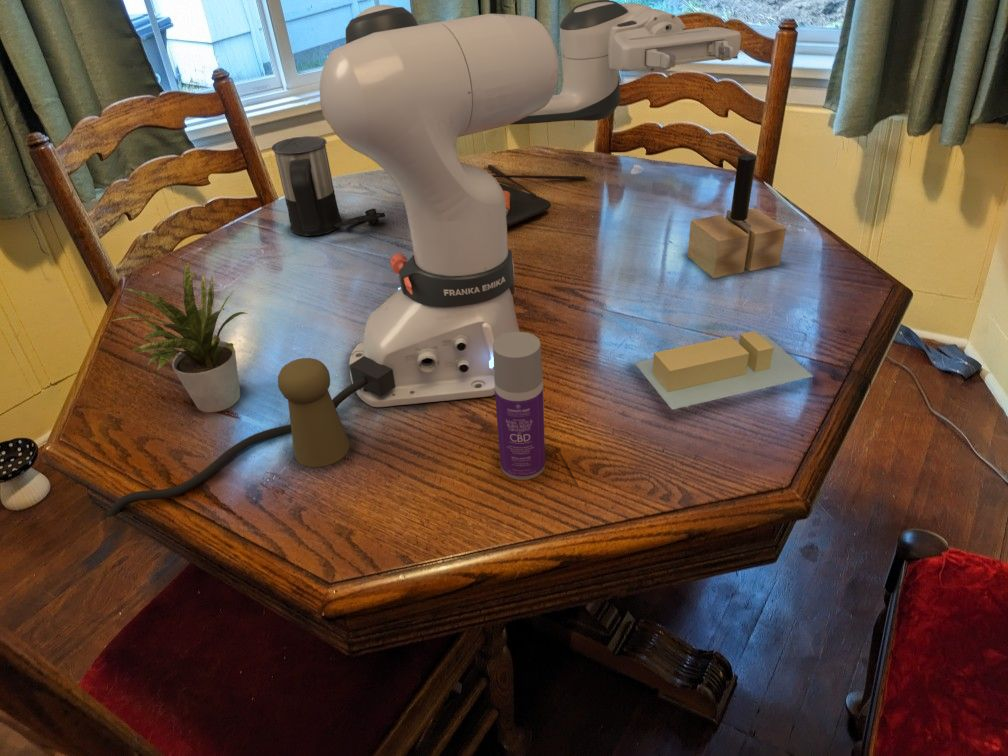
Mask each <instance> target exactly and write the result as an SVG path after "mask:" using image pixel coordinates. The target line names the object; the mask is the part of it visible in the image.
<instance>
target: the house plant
mask: <svg viewBox="0 0 1008 756" xmlns="http://www.w3.org/2000/svg"><path fill="white" fill-rule="evenodd" d="M182 274H183V275H182V281H183V283H182V284H183V305H184V311H185V313H184V311H182V310H181V309H180V308H178V306H176V305H174V304H172V303H170V302H168V301H166V300H164V299H163V297H162V296H159V295H157V294H155V293H152V292H144V291H142V290H138V289H134V288H124V290H126V291H129V292H132V293H135V294H138V295H140V296H141V297H142V298H144V299H146V300H147V301H148V302H150V303H151V304H152V305H153V306H154V307H155V308H156V309H157V310H158V311H159V312H160V313H161V314H163V315H164V316H166V317H167V319H168V320H169V321H171V323H168V322H166V321H164V320H162V319H159V318H157V317H153V316H150V315H146V314H139V313H138V314H130V315H125V316H120V317H118V318H114V319H112V320H111V322H114V321H120V320H125V319H133V320H130V321H127V322H126V324H129V323H132V322H140V323H143V324H145V325H148V326H149V327H151V328H152V329H153V330H155V331H152V332H150V333H148V334H147V335H146V336H145V337H144V339H143V341H147V340H150V339H154V338H159V337H160V338H164V339H163V340H157V341H151V342H147V343H144V344H142V345H140V346H138V347H135V348H132V349H131V350H130V352H137V353H136V354H137V355H138V354H142V353H146V352H153V353H152V354H151V356H149V359H148V362H147V367H148V366H149V364H151V363H152V362H154V361H156V360H158V361H157V372H159V371H160V369H162V368H163V367H164V366H165V365H166V364H168V363H169V362H170V361H171V360H172V359H173V360H172V363H171V366H172V369H173V371H174V373H175V374H176V376H177V377H178V379H179V381H180V382H181V384H182V385H183V387H184V389H185V390H186V392H187V393H188V395H189V397H190V398H191V400H192V401H193V403H194V405H195V406H196V408H197V409H198V410H199V411H201V412H204V413H217V412H222V411H225V410H227V409H229V408H231V407H233V406H234V405H236V404H237V403H238V402H239V401H240V399H241V387H240V380H239V371H238V364H237V363H238V361H237V355H236V349H235V347H234V343H233V342H226V341H223V340H221V338H220V335H221V332H222V330H223V329H224V328H225V326H226V325H227V324H228V323H229V322H230V321H232V320H233V319H235V318H237V317H239V316H240V315H248V314H249V315H250V313H248V312H245V311H238V312H235V313H233V314H232V315H230V316H229V317H228V318H226V320H225V321H223V323H222V324H221V326H220V328H219V329H218V331H217V333H216V334H214V333H215V329H216V325H217V321H218V318H219V315H220V313H221V312H222V311H225V310H226V309H225V308H224V306H225V305H226V304H227V303H226V302H227V301H228V299H229V298H230V296H231V295H232V294H233V293H234V291H232V292H231V293H230V294H228V296H227V297H226V298H225V300H224V302H223V304H222V305H221V307H220V309H218V310H217V311H215V312H214V313H213V305H214V299H215V294H214V293H215V290H214V289H215V288H214V279H213V277H211V278H210V283H209V288H208V292H207V282H206V278H205V275H204V273H203V272H202V275H201V283H200V292H201V293H200V295H201V296H200V297H201V298H200V309H198V306H197V303H196V299H195V291H194V281H193V280H194V277H195V276H196V274H197V271H195V272H193V274H192V272H191V269H190V264H189V261H186V263H185V265H184V268H183V273H182ZM250 316H251V315H250ZM134 318H145V319H151V320H155V321H157V322H160V323H158V324H157V323H154V322H152V321H149V320H144V319H134ZM162 326H164V327H166V328H168V329H170V330H172V331H174V332H176V333H177V334H178V335H180V336H181V337H179V336H177V335H175V334H174V333H171V332H170V331H168V330H166V329H165V328H164V327H162ZM180 349H182V350H180Z"/></svg>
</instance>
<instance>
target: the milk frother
mask: <svg viewBox="0 0 1008 756" xmlns="http://www.w3.org/2000/svg"><path fill="white" fill-rule="evenodd" d="M327 143H328V142H327V140H326V138H324V137H321V136H315V135H306V136H297V137H290V138H286V139H282V140H280V141H278V142H276V143H274V144H273V145H271V148H270V149H271V151H272V152H273V153H274V157H275V162H276V165H277V170H278V175H279V178H280V184H281V187H282V193H283V195H284V201H285V204H286V208H287V212H288V220H289V223H290V227H289V230H290V232H291V233H293V234H295V235H298V236H303V237H304V236H305V237H307V236H308V237H311V236H320V235H321V236H322V235H324V234H328V233H331V232H333V231H336V230H337V229H339V228H340V227H344V226H350V225H356V224H361V223H365V222H367V223H368V225H375V224H378V223H379V222H380V220H379V219H382V218H385V217H386V212H385V211H384V212H377V209H376V208H370V209H367V210H365V214H362V215H359V216H355V217H351V218H349V219H347V220H343V218H342V217H341V215H340V211H339V207H338V202H337V198H336V194H335V189H334V183H333V178H332V172H331V167H330V162H329V156H328V152H327V147H326V145H327Z"/></svg>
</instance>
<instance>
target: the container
mask: <svg viewBox="0 0 1008 756" xmlns="http://www.w3.org/2000/svg"><path fill="white" fill-rule="evenodd" d="M541 343H542V342H541V340H540V339H539V337H537V336H536V335H535V334H532V333H530V332H526V331H520V332H510V333H506V334H503V335H501V336H499V337H498V338H497V339H496V340H495V341H494V343H493V360H494V382H495V395H494V397H495V410H496V421H497V422H496V424H497V435H498V447H499V449H498V450H499V461H500V469H501V471H502V473H503V474H504V475H505V476H506V477H509V478H510V479H513V480H515V481H528V480H531V479H535V478H537V477H538V476H540V475H541V474H542V473H543V472H544V470H545V468H546V438H545V433H546V432H545V403H544V402H545V401H544V400H545V399H544V379H543V378H544V377H543V361H542V347H541Z"/></svg>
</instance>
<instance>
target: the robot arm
mask: <svg viewBox="0 0 1008 756" xmlns="http://www.w3.org/2000/svg"><path fill="white" fill-rule="evenodd" d="M559 40H560V55H561V66H562V67H561V69H562V88H561V91H560V93H558V94H555V92H556V88H557V85H558V81H559V72H560V71H559V69H560V66H559V57H558V51H557V48H556V46H555V43H554V40H553V38H552V36H551V35H550V33H549V32H548V30H547V29H546V28H545V26H544V25H543V24H542V23H541V22H540V21H539V20H538V19H536V18H534V17H532V16H526V15H520V14H508V13H507V14H506V13H505V14H504V13H485V14H478V15H472V16H466V17H460V18H454V19H448V20H442V21H437V22H431V23H424V24H419V23H418V22H417V20H416V18H415V16H414V14H413V13H411V12H410V11H409V10H408V9H406V8H405V7H404V6H395V5H390V4H379V5H377V4H376V5H373V6H371V7H368V8H366V9H364V10H362V11H361V12H360V13H359V14H358V15H356V16H355V17H354V18H352V19H350V21H349V22H348V24H347V26H346V27H345V44H343V45H341V46H339V47H337V48H334V49H332V50H331V51H330V52H329V54H328V56H327V57H326V59H325V61H324V63H323V67H322V70H321V74H320V80H319V103H320V109H321V113H322V115H323V118H324V120H325V121H326V122H327V124H328V126H330V128H331V130H332V131H333V132H334V134H335V135H336V136H337V137H338V138H339V140H341V142H343V143H344V144H345V145H346V146H347V147H349V148H350V149H352V150H353V151H356V152H357V153H359V154H362V155H364V156H365V157H367V158H369V159H370V160H371V161H373V162H374V163H375V164H377V165H378V166H379V167H381V169H383V170H384V172H385V173H386V174H387V175H388V176H389V177H390V179H391V180H392V182H393V184H394V185H395V187H396V188H397V190H398V192H399V194H400V196H401V199H402V202H403V205H404V210H405V213H406V218H407V223H408V228H409V233H410V238H411V239H410V240H411V244H412V251H413V255H412V256H411V257H410V258H409V259H407V257H406V256H404V254H402V253H395V254H393V255H392V256H391V258H390V259H389V261H390V262H389V264H390V266H391V268H392V271H393V272H394V273H395V274H396V275H398V277H399V278H398V279H399V286H400V287H397V291H396V292H394V294H392V295H391V296H390V297H389V298H387V300H385V302H382V304H380V306H378V307H377V308H376V309H375V310H373V311H372V312H371V313H370V314H369V316H368V317H367V320H366V323H365V328H364V333H363V341H362V342H360V343H358V344H357V345H356V346H355V347H354V349H353V350H352V352H351V354H350V357H349V365H348V366H349V375H350V382H351V384H350V385H348V386H346V387H345V388H344V389H343V390H342V391H340V392H339V393H338V394H336V395H335V396H334V398H332V401H333V403H334V406H335V408H336V409H338V407H339V406H340V404H342V403H343V402H344V401H345V400H346V399H347V398H348V397H350V396H352V395H353V394H354V393H356V395H357V396H358V397H359V399H360V400H361V401H362V402H364V403H365V404H367V405H368V406H370V407H372V408H385V407H395V406H405V405H413V404H414V405H416V404H425V403H437V402H445V401H447V402H448V401H457V400H464V399H465V400H466V399H476V398H485V397H493V396H495V382H494V360H493V343H494V341H495V340H496V339H497V338H498V337H499V336H501V335H503V334H506V333H510V332H521V330H520V326H519V322H518V317H517V313H516V308H515V303H514V294H515V284H516V281H515V280H516V278H515V263H514V258H513V252H512V250H511V249H510V247H509V238H508V226H507V219H506V201H505V194H504V192H503V190H502V188H501V186H500V184H501V183H500V182H498V180H497V178H496V177H493V176H492V175H493V174H491V173H489V172H488V171H486V170H484V169H483V168H480V167H478V166H474V165H472V164H469V163H465V162H462V161H460V158H459V153H458V150H457V140H458V138H462V137H465V136H470V135H473V134H477V133H482V132H487V131H491V130H494V129H498V128H503V127H506V126H511V125H512V126H513V125H514V126H515V125H530V124H531V125H532V124H543V123H546V124H547V123H556V122H557V123H558V122H568V121H569V122H571V121H572V122H573V121H585V122H595V121H600V120H605V119H607V118H609V117H610V116H611V115H612V114H613V112H615V110H616V109H617V108H618V106H619V105H620V103H621V101H622V95H621V87H620V86H621V85H620V79H619V71H620V72H632V71H638V70H639V71H640V70H641V71H650V72H651V73H662V72H666V71H668V70H670V69H672V68H676V67H675V66H678V65H686V64H692V63H701V62H709V61H717V60H719V61H722V62H724V61H731V60H732V58H736V57H738V55H739V54H740V49H741V44H742V33H741V32H740V31H738V30H734V29H731V28H725V27H720V26H705V27H697V28H686V26H685V23H684V22H683V20H682V19H681V18H680V17H679V16H678V15H675V14H674V13H670V12H667V11H665V10H664V11H663V10H661V9H658V8H652V7H651V6H648V5H644V4H642V3H635V2H624V3H619V2H617V1H614V0H593V1H588V2H584V3H581V4H577V5H576V6H575V7H573V8H572V9H571V10H570V11H569V12H568V13H567V14H566V15H565V16H564V17H563V19H562V21H561V22H560V24H559ZM499 183H500V184H499ZM290 433H291V434H292V431H291V423H290V424H286V425H281V426H278V427H273V428H269V429H267V430H262V431H260V432H257V433H255V434H253V435H250V436H248V437H246V438H244V439H242V440H240V441H239V442H237V443H236V444H233V446H231V447H230V448H229V449H227V450H225V452H224V453H222V454H221V455H219V456H218V457H217V458H216V459H215V460H214V461H212V463H210V464H209V465H208V466H206V467H205V468H204V469H203V470H202V471H200V472H199V473H197V474H196V475H194V476H193V477H191V478H189V479H188V480H186V481H184V482H182V483H179V484H177V485H175V486H172V487H168V488H161V489H152V490H151V489H150V490H149V489H148V490H142V491H141V490H140V491H134V492H130V493H127V494H124V495H123V496H122V497H119V498H118V499H117V500H116V501H115V502H114V503H112V505H111V507H110V508H109V510H108V511H107V513H106V516H107V517H108V518H111V517H115V516H117V515H118V514H119V513H120V512H121V510H122V509H123V508H125V507H127V506H128V505H130V504H132V503H136V502H142V501H151V500H152V501H153V500H163V499H169V498H173V497H177V496H180V495H182V494H184V493H186V492H188V491H191V490H192V489H194V488H195V487H197V486H199V485H200V484H202V483H204V482H205V481H206V480H207V479H209V478H210V477H211V476H213V475H214V474H215V473H216V472H217V471H219V470H220V469H221V468H223V466H224V465H225V464H227V463H228V462H229V461H230V460H231V459H233V458H234V457H235V456H237V455H239V454H240V453H241V452H243V451H244V450H245V449H247V448H249V447H251V446H253V445H255V444H257V443H260V442H262V441H264V440H267V439H271V438H276V437H278V436H283V435H286V434H290Z"/></svg>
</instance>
